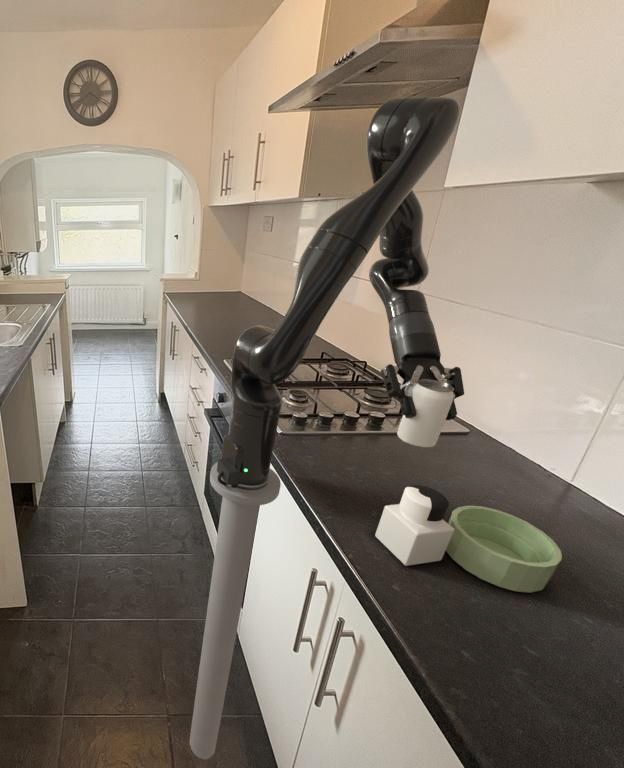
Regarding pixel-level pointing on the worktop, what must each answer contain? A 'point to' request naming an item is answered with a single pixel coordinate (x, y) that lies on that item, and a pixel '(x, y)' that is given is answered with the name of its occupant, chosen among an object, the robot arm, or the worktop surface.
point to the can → (427, 413)
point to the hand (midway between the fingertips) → (430, 417)
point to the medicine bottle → (416, 526)
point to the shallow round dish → (502, 549)
